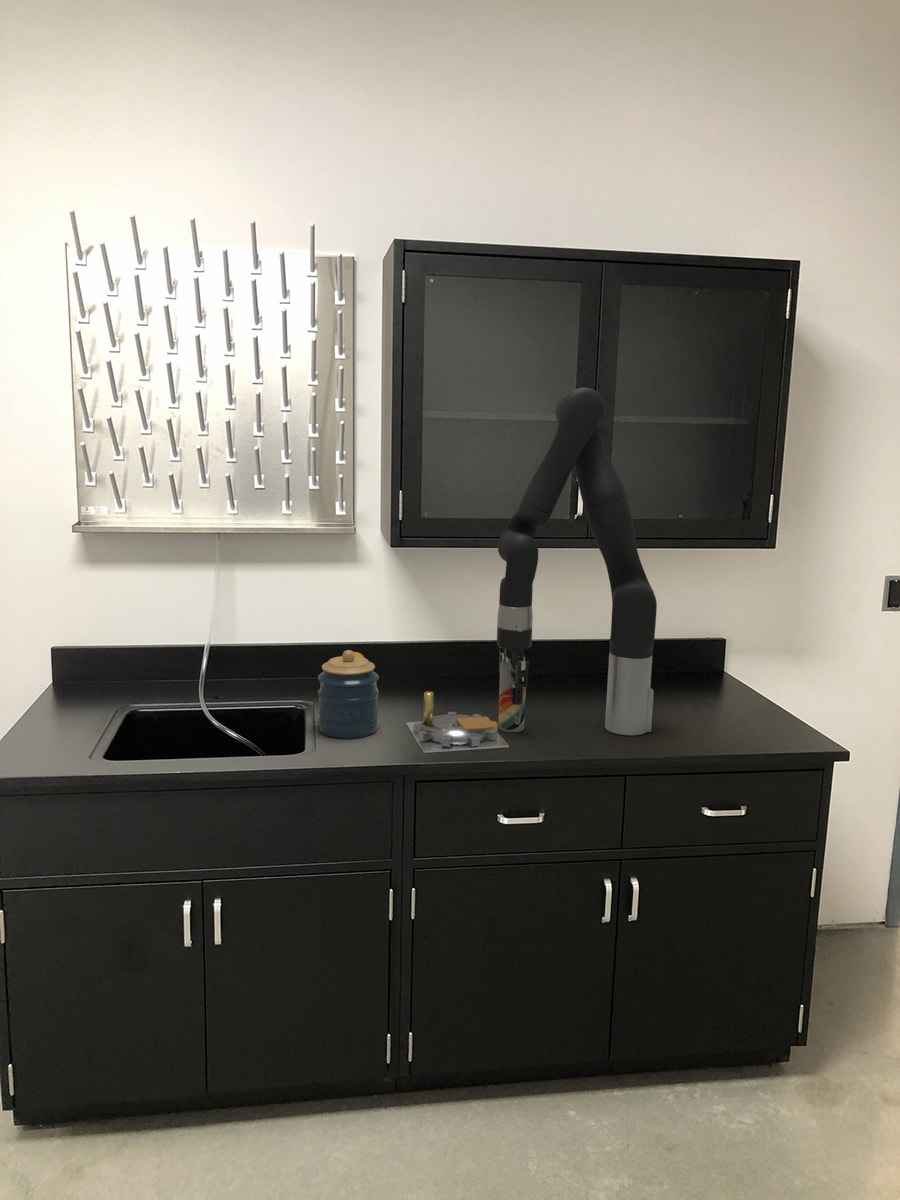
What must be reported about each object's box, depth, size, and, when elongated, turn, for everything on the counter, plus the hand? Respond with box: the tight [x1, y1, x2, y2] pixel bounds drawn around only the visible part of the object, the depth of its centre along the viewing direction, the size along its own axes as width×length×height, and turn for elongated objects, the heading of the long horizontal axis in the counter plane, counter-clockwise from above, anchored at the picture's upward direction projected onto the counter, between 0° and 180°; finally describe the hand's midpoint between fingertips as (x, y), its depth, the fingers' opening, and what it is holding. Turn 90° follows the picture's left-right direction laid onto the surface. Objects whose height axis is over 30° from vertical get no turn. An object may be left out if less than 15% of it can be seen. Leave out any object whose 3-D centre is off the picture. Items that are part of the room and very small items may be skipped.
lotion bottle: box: [497, 649, 527, 733], centre depth 204 cm, size 6×6×20 cm
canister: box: [317, 649, 380, 739], centre depth 201 cm, size 13×13×18 cm
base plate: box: [406, 720, 510, 754], centre depth 201 cm, size 18×18×1 cm
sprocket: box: [413, 691, 499, 747], centre depth 200 cm, size 18×18×8 cm
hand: (512, 699), depth 204 cm, fingers open, 6 cm apart
